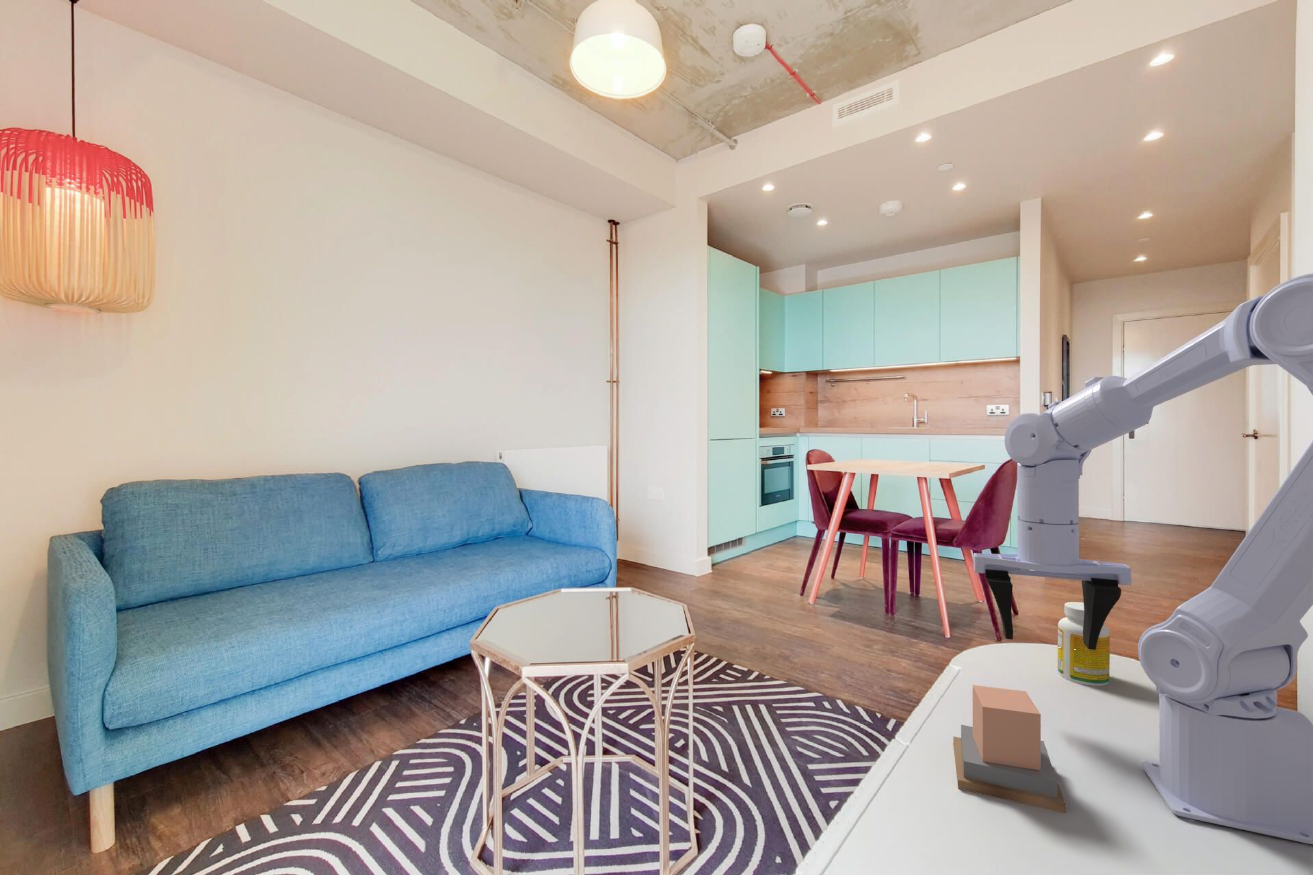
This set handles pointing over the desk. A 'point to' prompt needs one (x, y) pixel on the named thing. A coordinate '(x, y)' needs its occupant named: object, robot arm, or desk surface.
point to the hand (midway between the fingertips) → (1047, 641)
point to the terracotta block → (1006, 727)
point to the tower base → (1003, 791)
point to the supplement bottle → (1081, 650)
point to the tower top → (1007, 770)
